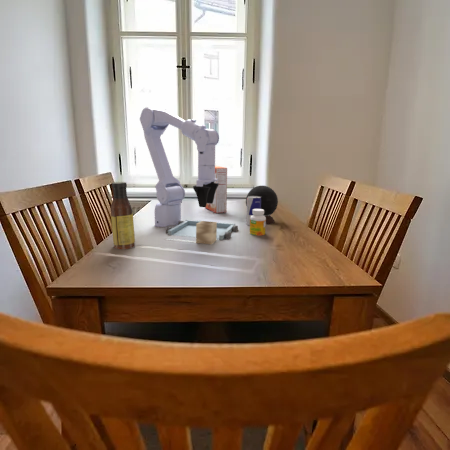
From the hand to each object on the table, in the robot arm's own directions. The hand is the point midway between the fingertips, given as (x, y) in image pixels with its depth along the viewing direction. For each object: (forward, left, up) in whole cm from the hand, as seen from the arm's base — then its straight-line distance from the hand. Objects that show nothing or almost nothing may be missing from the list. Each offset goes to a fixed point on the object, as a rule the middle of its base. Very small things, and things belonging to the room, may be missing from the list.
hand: (206, 205), depth 119 cm
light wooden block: (+5, -14, -9) cm, 17 cm away
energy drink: (+14, +15, -11) cm, 23 cm away
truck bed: (0, -2, -10) cm, 11 cm away
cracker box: (-10, +43, -11) cm, 45 cm away
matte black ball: (+15, +27, -11) cm, 33 cm away
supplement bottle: (+18, +2, -11) cm, 21 cm away
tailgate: (0, -11, -10) cm, 15 cm away
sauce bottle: (-18, -24, -11) cm, 32 cm away
